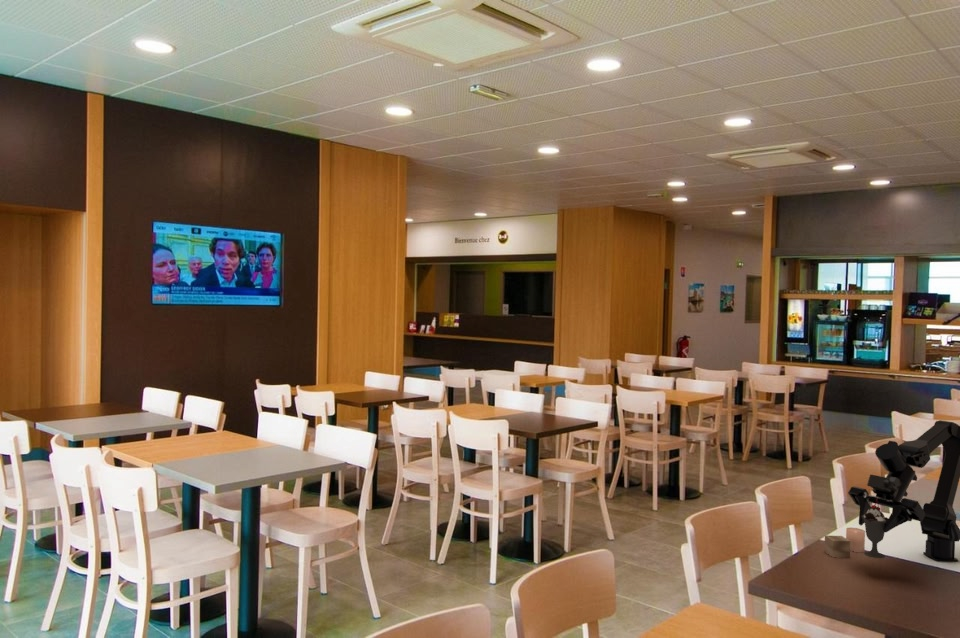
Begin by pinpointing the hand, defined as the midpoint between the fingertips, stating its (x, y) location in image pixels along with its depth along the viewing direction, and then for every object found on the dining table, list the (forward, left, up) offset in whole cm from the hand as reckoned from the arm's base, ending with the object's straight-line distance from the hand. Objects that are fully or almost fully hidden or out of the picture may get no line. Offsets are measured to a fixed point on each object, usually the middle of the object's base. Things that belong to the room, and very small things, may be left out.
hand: (871, 527), depth 196 cm
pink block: (-8, -22, -13) cm, 27 cm away
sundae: (-1, -1, -8) cm, 8 cm away
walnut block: (0, -17, -13) cm, 22 cm away
